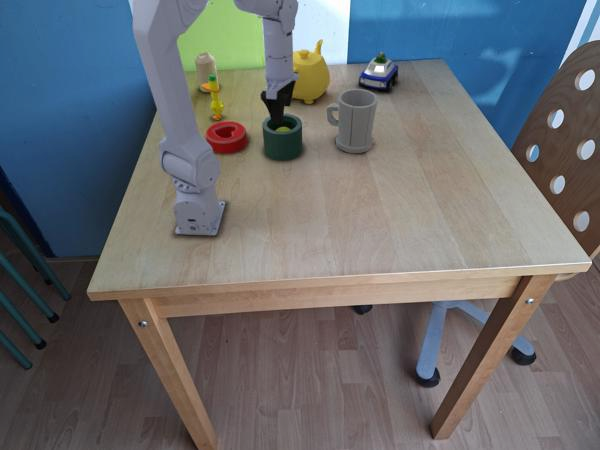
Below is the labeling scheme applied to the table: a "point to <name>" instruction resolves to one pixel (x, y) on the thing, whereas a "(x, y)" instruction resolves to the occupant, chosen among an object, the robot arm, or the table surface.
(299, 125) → the jar
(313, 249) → the table surface
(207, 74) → the candle
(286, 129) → the ball
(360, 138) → the cup
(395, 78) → the toy car
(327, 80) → the teapot
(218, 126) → the decorative ornament
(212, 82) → the toy figure
